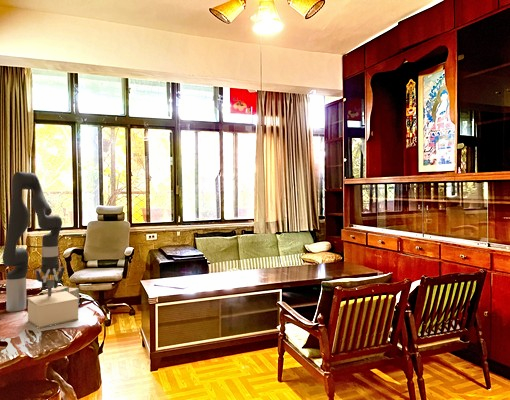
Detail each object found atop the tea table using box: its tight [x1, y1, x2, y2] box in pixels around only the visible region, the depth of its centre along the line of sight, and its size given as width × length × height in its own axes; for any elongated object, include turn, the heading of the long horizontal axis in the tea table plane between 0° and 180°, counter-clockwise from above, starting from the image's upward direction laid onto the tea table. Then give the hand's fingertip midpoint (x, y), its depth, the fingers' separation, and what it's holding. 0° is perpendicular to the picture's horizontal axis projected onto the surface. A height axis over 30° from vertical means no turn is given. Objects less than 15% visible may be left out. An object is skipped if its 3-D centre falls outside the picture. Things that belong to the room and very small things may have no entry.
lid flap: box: [26, 278, 80, 307], centre depth 193 cm, size 16×18×9 cm
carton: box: [27, 300, 79, 329], centre depth 193 cm, size 16×18×10 cm
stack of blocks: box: [43, 285, 80, 305], centre depth 213 cm, size 21×6×12 cm, turn 170°
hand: (49, 288), depth 196 cm, fingers closed on lid flap, 4 cm apart
